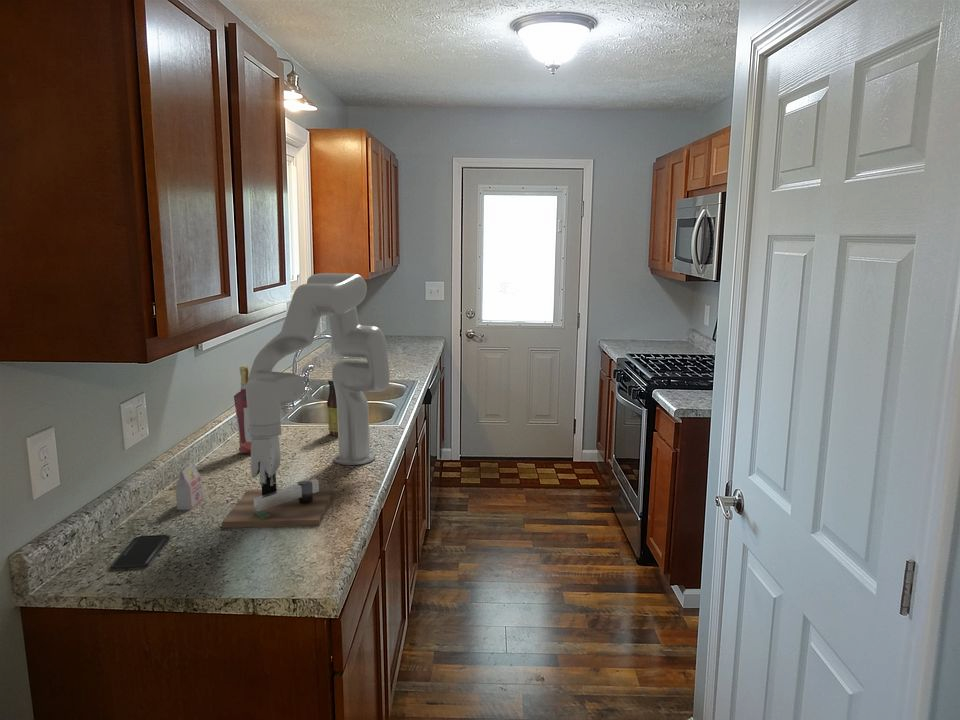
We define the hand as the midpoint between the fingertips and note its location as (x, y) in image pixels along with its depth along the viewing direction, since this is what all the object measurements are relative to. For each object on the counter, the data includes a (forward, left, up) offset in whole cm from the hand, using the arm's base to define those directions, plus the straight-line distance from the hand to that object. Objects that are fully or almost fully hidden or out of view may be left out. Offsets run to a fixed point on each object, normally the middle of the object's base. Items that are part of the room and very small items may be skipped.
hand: (269, 499), depth 170 cm
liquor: (-51, -20, -4) cm, 55 cm away
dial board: (-3, +2, -4) cm, 5 cm away
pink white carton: (-8, -23, -4) cm, 24 cm away
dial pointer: (0, +4, -2) cm, 5 cm away
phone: (+20, -23, -5) cm, 31 cm away
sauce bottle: (-70, +5, -4) cm, 70 cm away
